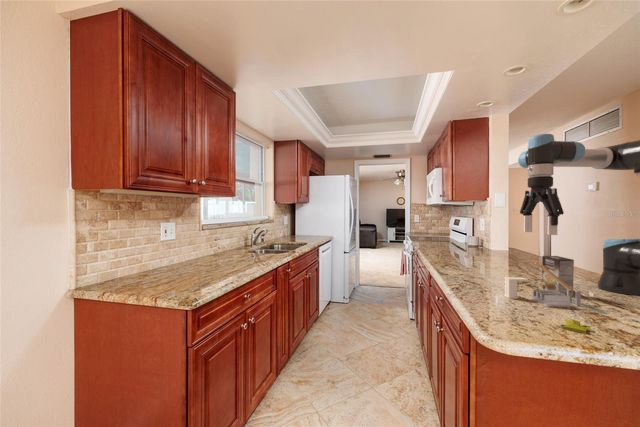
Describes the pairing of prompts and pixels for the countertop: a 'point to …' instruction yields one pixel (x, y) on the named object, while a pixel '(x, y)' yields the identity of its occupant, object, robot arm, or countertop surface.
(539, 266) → the strap
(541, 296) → the heatsink
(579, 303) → the board
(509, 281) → the cream l-shaped bracket
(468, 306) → the countertop surface
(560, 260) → the coffee box
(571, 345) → the countertop surface
